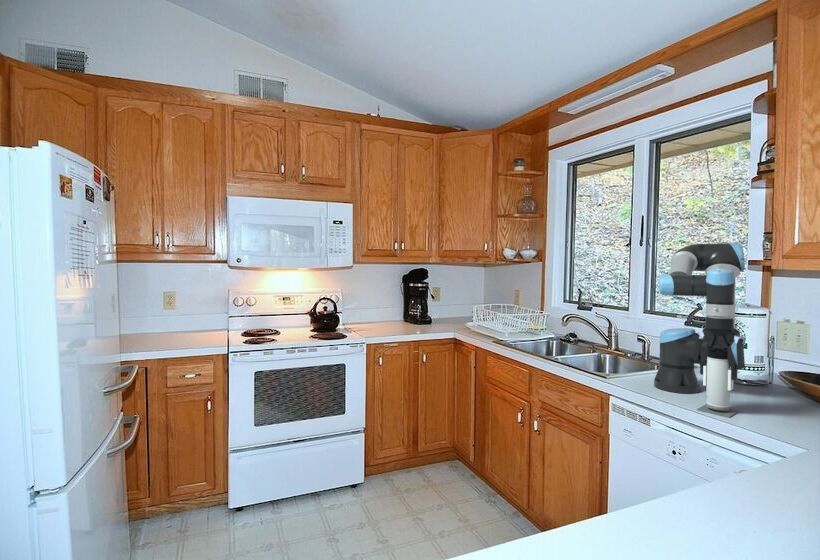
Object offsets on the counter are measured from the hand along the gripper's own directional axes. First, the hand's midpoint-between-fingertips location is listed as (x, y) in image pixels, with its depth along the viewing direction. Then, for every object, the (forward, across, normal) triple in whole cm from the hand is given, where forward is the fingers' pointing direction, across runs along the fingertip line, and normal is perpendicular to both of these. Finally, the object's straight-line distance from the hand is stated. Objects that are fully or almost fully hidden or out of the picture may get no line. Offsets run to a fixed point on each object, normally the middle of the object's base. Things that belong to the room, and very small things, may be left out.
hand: (717, 386), depth 142 cm
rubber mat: (+8, 0, 0) cm, 8 cm away
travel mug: (+7, 0, 0) cm, 7 cm away
